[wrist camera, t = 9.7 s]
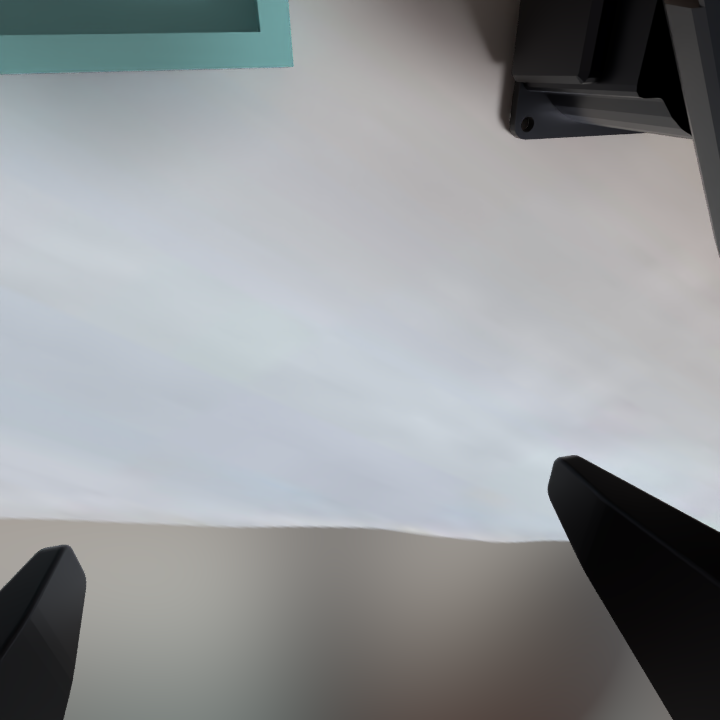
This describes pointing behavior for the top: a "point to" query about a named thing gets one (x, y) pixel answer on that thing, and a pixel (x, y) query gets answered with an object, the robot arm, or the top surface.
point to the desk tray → (142, 35)
